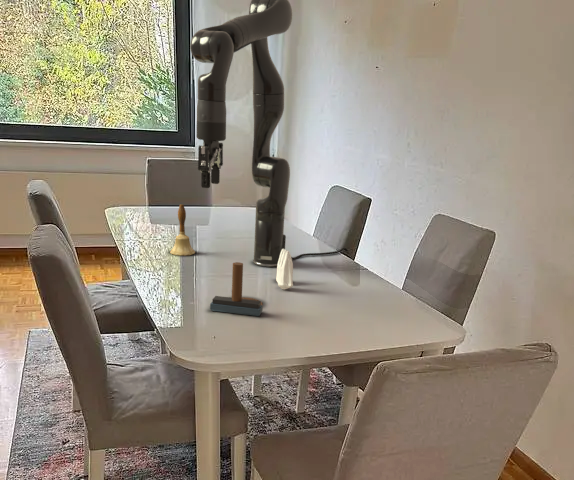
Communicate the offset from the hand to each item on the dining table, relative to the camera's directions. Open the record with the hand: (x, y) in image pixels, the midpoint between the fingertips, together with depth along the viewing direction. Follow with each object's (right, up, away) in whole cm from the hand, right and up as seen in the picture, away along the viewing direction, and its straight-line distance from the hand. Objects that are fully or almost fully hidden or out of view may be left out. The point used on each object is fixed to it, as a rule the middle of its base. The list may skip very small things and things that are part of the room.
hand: (210, 185), depth 168 cm
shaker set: (+19, -24, +18) cm, 36 cm away
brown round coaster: (+9, -31, +1) cm, 33 cm away
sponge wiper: (+7, -34, -5) cm, 35 cm away
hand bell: (-15, -9, +45) cm, 48 cm away
